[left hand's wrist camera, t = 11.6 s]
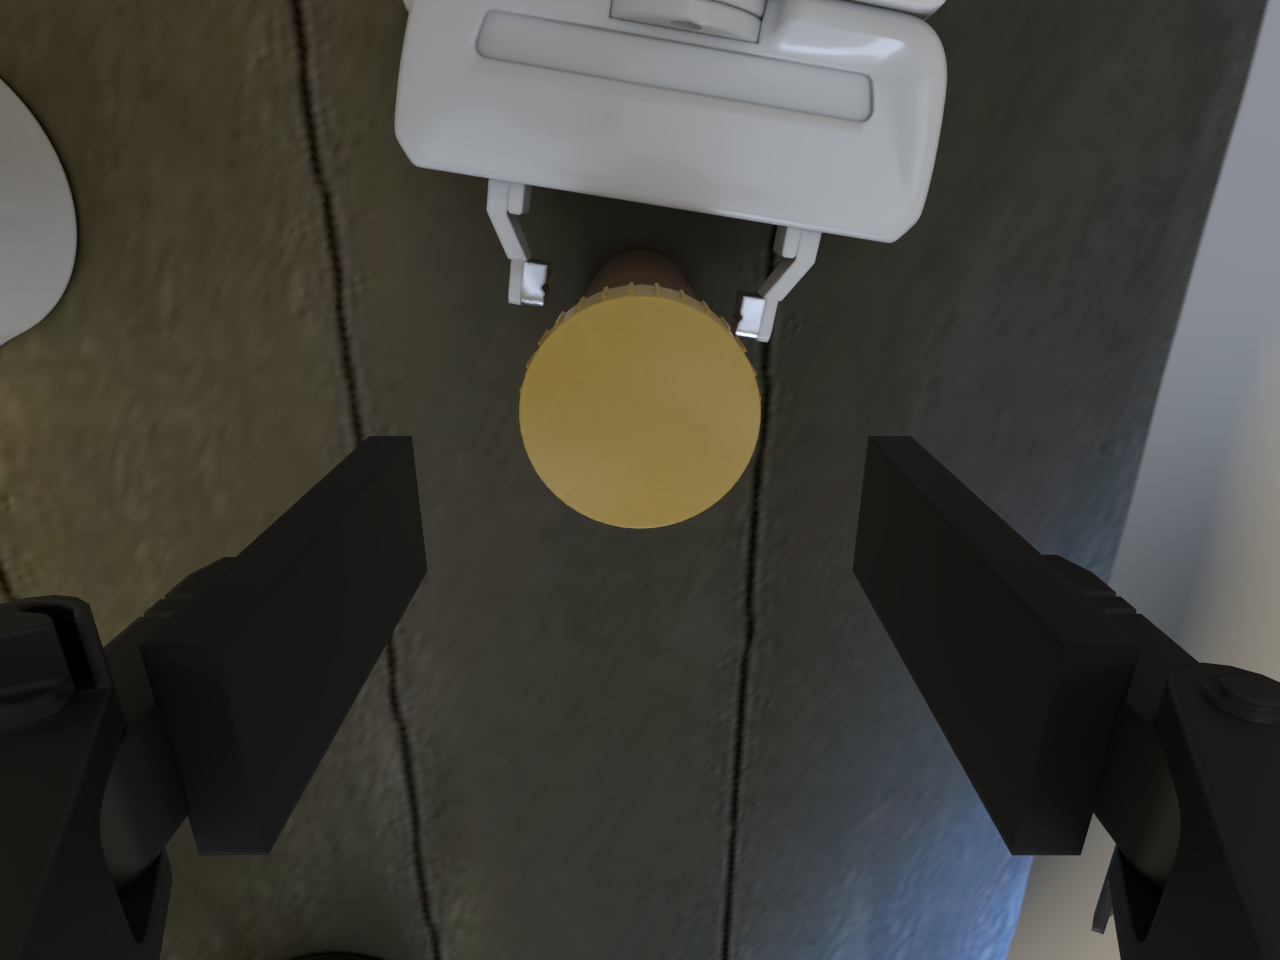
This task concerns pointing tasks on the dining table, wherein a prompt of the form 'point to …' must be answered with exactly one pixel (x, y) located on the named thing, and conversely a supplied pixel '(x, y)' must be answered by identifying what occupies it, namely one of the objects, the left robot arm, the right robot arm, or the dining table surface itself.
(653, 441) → the lid
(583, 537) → the dining table surface
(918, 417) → the dining table surface
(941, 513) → the left robot arm
